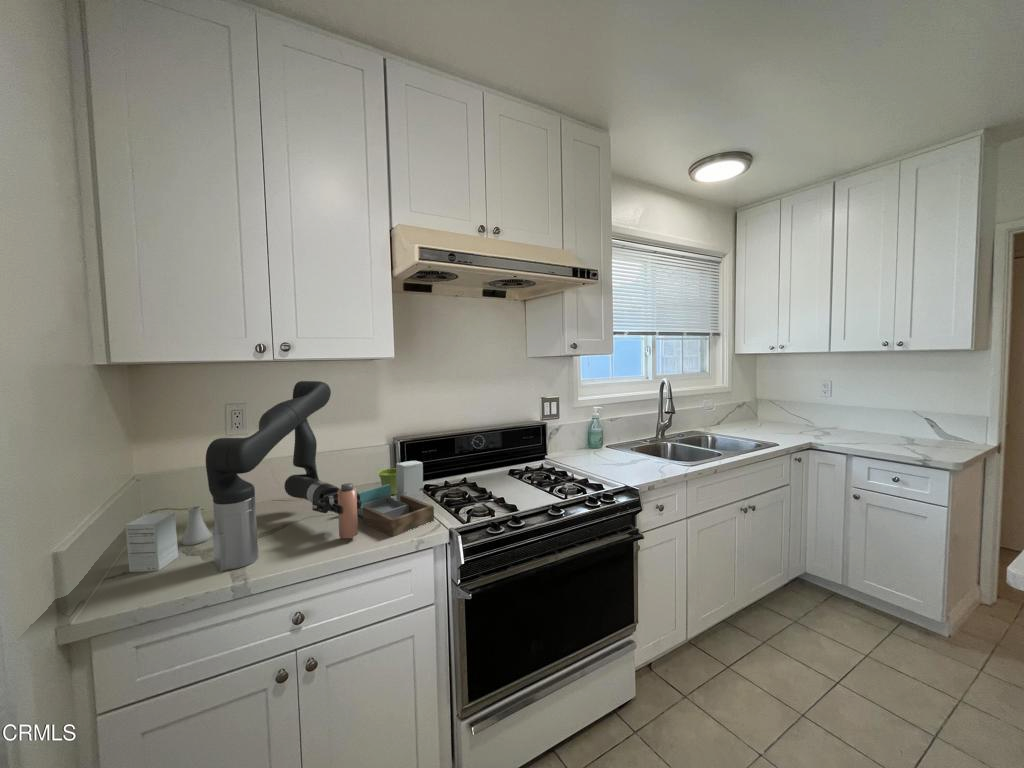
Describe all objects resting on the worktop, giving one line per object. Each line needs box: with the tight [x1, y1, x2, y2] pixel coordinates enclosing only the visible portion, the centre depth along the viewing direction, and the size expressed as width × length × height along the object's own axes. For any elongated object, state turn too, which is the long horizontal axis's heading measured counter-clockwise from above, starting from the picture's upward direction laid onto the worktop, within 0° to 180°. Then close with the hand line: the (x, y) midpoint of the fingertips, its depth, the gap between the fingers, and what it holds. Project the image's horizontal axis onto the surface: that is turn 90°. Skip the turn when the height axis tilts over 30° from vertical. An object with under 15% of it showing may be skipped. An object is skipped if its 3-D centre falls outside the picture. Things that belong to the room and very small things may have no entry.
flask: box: [179, 505, 213, 546], centre depth 124 cm, size 7×7×10 cm
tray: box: [357, 484, 409, 518], centre depth 144 cm, size 16×15×6 cm
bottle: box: [337, 482, 359, 539], centre depth 124 cm, size 5×5×15 cm
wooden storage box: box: [362, 495, 435, 537], centre depth 137 cm, size 15×17×5 cm
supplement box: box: [124, 512, 179, 573], centre depth 110 cm, size 7×7×13 cm
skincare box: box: [395, 460, 424, 502], centre depth 155 cm, size 8×6×15 cm
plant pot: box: [377, 467, 397, 496], centre depth 165 cm, size 9×9×9 cm
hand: (350, 507), depth 123 cm, fingers closed on bottle, 5 cm apart
